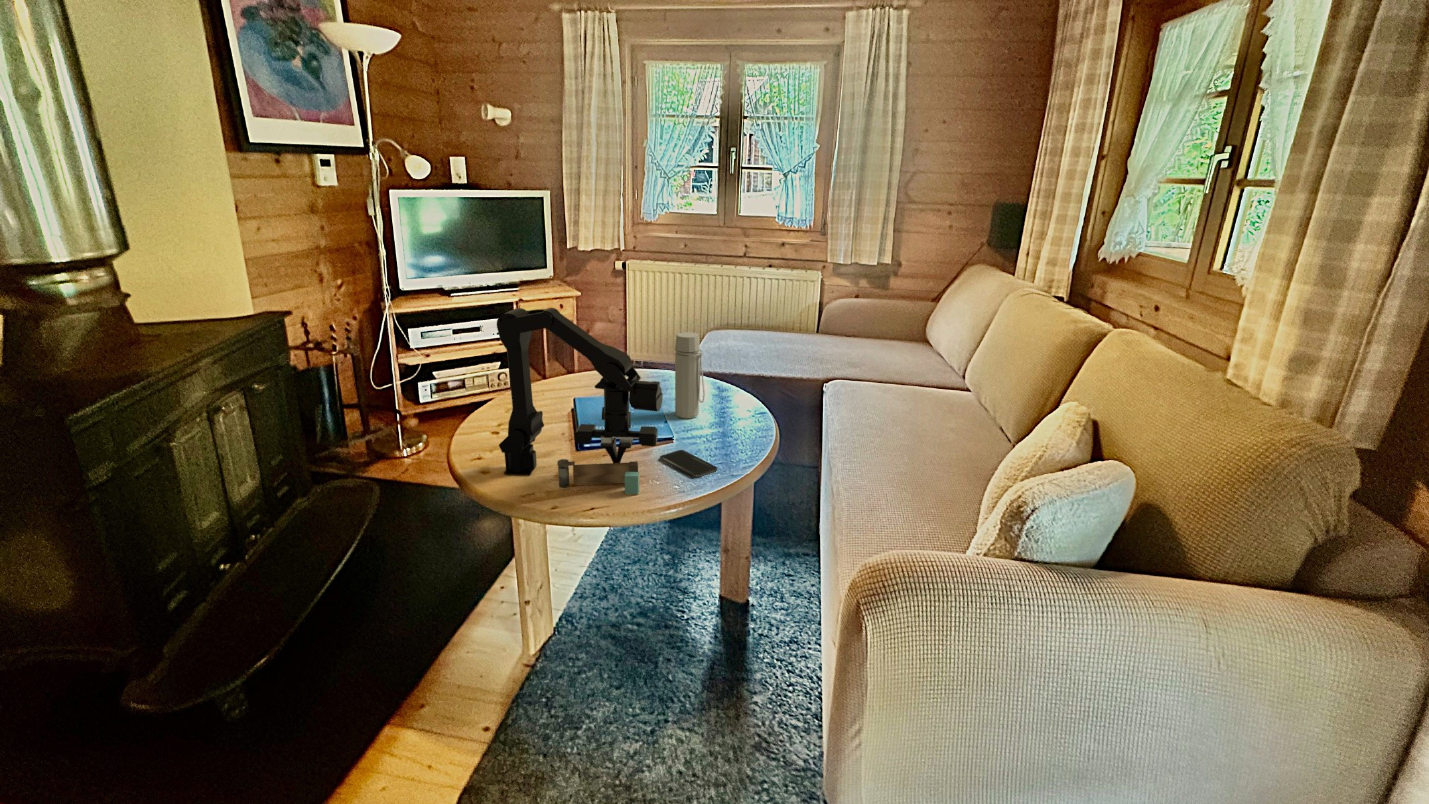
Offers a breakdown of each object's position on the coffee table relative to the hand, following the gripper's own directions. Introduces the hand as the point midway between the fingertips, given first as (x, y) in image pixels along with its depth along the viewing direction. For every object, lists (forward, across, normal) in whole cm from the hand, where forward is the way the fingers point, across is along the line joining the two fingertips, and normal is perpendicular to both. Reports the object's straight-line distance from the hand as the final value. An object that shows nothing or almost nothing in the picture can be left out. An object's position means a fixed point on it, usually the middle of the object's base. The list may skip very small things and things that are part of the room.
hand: (617, 467), depth 162 cm
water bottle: (+4, -16, -44) cm, 47 cm away
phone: (+3, -17, -9) cm, 19 cm away
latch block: (+3, -4, +7) cm, 8 cm away
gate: (+3, +4, +3) cm, 6 cm away
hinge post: (+3, +12, +4) cm, 13 cm away
